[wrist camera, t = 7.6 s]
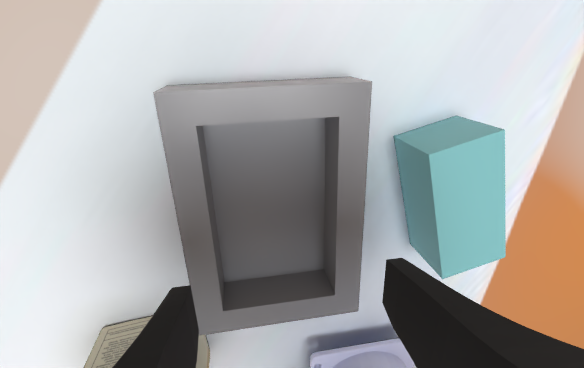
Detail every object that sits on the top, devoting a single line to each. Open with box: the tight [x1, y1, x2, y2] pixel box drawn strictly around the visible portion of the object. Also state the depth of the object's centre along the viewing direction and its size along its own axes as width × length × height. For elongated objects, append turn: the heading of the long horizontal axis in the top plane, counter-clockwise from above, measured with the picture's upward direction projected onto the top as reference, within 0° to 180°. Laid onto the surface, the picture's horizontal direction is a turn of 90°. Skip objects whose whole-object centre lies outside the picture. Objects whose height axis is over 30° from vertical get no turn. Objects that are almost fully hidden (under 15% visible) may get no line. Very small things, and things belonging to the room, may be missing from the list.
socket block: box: [153, 77, 372, 335], centre depth 18 cm, size 14×10×3 cm
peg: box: [394, 116, 505, 279], centre depth 19 cm, size 8×4×4 cm, turn 16°
